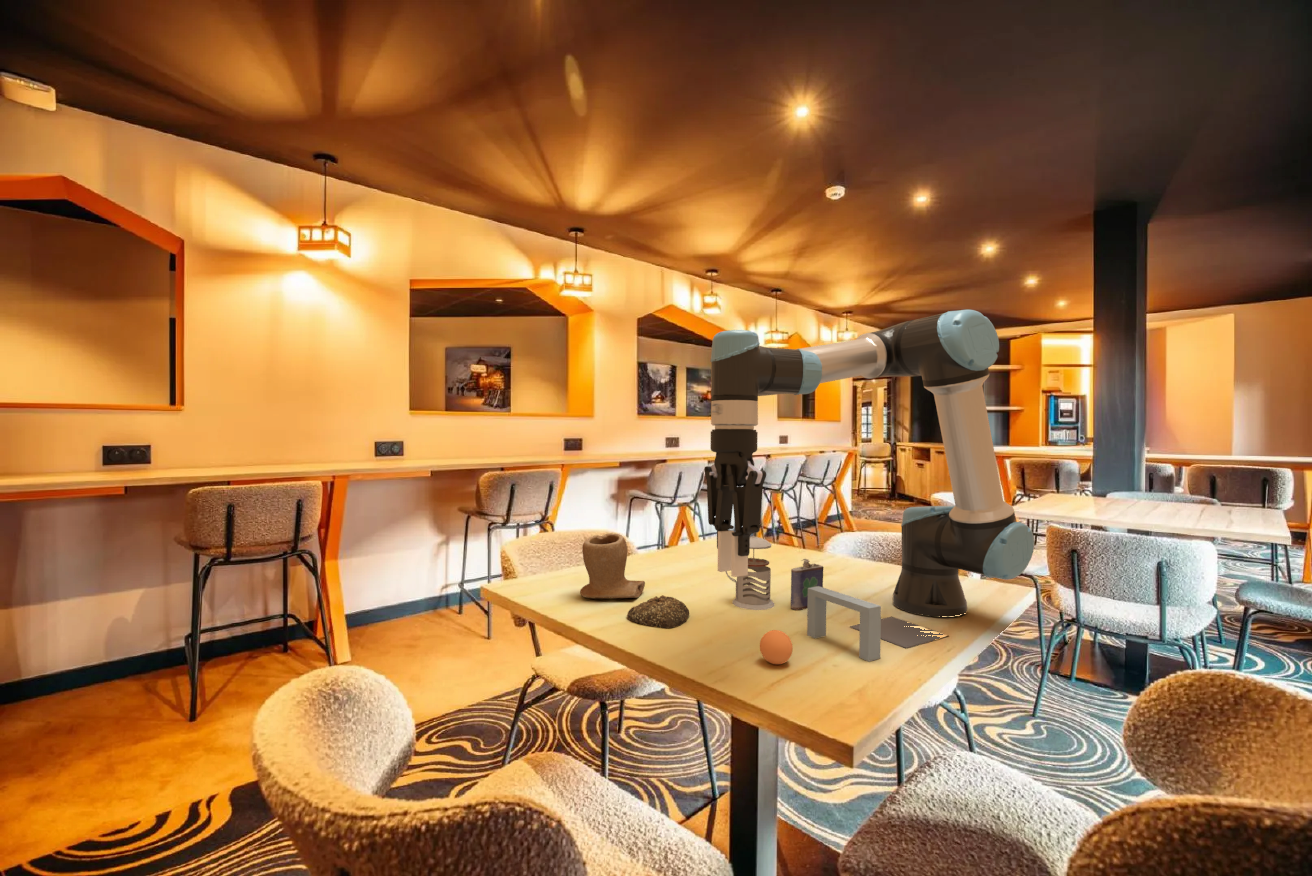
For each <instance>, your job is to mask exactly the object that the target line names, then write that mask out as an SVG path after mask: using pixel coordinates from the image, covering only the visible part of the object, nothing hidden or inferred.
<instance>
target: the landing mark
mask: <svg viewBox="0 0 1312 876" xmlns="http://www.w3.org/2000/svg"><path fill="white" fill-rule="evenodd" d="M907 622H908V621H907V620H904V619H901V618H897V617H894V616H888V617H883V618H881V640H883V641H885V642H888V643H890V644H893V645H895V646H899V647H901V648H902V649H906V648H907V649H909V648H913V647H917V646H919V644H921V645H924V644H927V643H930V641H931V642H934V641H933V640H935V639H939V638H940V637H937V636H933V637H932V635H943V634H944V633H943V634H940V633H941V632H940V633H939V634H933V633H931V632H930V633H924V632H920V631H935V630H934V629H931V630H925V629H924V630H922V629H920V628H914V627H910V626H920V625H918V624H916V623H913V622H910V623H907ZM912 623H913V624H912ZM904 626H905V627H904ZM906 626H907V627H906ZM908 626H909V627H908ZM849 628H851V629H853V630H855V631H859V632H860V623H859V624H853V625H850V626H849ZM917 635H918V636H917ZM921 635H922V636H921ZM923 635H924V636H923ZM926 635H927V636H926ZM928 635H931V636H928ZM925 636H926V637H925ZM939 640H940V639H939ZM935 641H936V640H935ZM916 645H917V646H916Z"/></svg>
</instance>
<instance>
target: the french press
mask: <svg viewBox="0 0 1312 876" xmlns="http://www.w3.org/2000/svg"><path fill="white" fill-rule="evenodd" d="M752 534H753V535H752V536H750V546H749V547H750V549H751V550H752V552H753V556H752V557H748V570H752V571H748V575H745V576H738V577H736V579H734V578H733V577H732V576H730V575H729V574H728V571H724V572H725V574H726V577H727V578H729V580H730V581H732V582H733V583H735V598H733V599H732V601H731V604H732V605H733V606H734V607H737V608H740V609H746V610H753V611H763V610H769V609H772V608H775V606H776V605H775V604H776V603H775V602H774V601H773V600H772V599H771V583H772V582H771V575H772V574H771V573H772V572H771V570H772V569H771V568H770V567H769V566H768V565H770V561H769V560H767V559H764V558H759V557H758V558H756V557H755V550H766V549H770V548H772V543H771V542H769V541H768V540H767V539H765V538H762V537H758V536H755V533H752ZM755 578H757V579H758V580H761V581H758V580H757V579H755ZM762 581H763V582H762ZM756 584H757V585H756ZM763 587H764V588H763Z"/></svg>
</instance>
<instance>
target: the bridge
mask: <svg viewBox="0 0 1312 876" xmlns="http://www.w3.org/2000/svg"><path fill="white" fill-rule="evenodd" d="M827 602H829V603H832V604H835V605H837V606H840V607H842V608H843V607H844V608H846V609H849V610H853V611H855V612H859V624H860V631H859V650H858V651H859V654H858V655H859V656H858V658H859V659H862V660H864V661H865V662H872V661H876V660H879V659H881V642H882V641H881V640H882V639H881V619H882V611H881V610H882V605H880V604H877V603H873V602H870V601H867V600H863V599H860V598H858V597H857V598H856V597H854V596H851V595H848V594H845V593H842V592H839V591H835V590H832V589H829V588H825V587H824V586H823V587H820V586H817V587H811V588H808V607H807V608H806V609H807V614H806V615H807V616H806V617H807V618H806V619H807V623H806V624H807V625H806V626H807V627H806V635H807V636H808V637H809V638H812V639H819V638H824V637H827Z"/></svg>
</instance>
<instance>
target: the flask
mask: <svg viewBox="0 0 1312 876" xmlns="http://www.w3.org/2000/svg"><path fill="white" fill-rule="evenodd" d="M801 562H803V563H802V566H798V567H795V568H791V570H790V571H791V572H790V574H791V575H790V576H791V578H790V581H791V582H790V609H791V610H794V611H797V610H798V611H801V610H802V611H803V610H806V609H807V607H808V588H811V587H817V586H820V587H823V588H824V583H823V582H824V566H823V565H821V564H817V563H810V562H811V561H810V560H809V559H807V558H803V559H802V560H801Z"/></svg>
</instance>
